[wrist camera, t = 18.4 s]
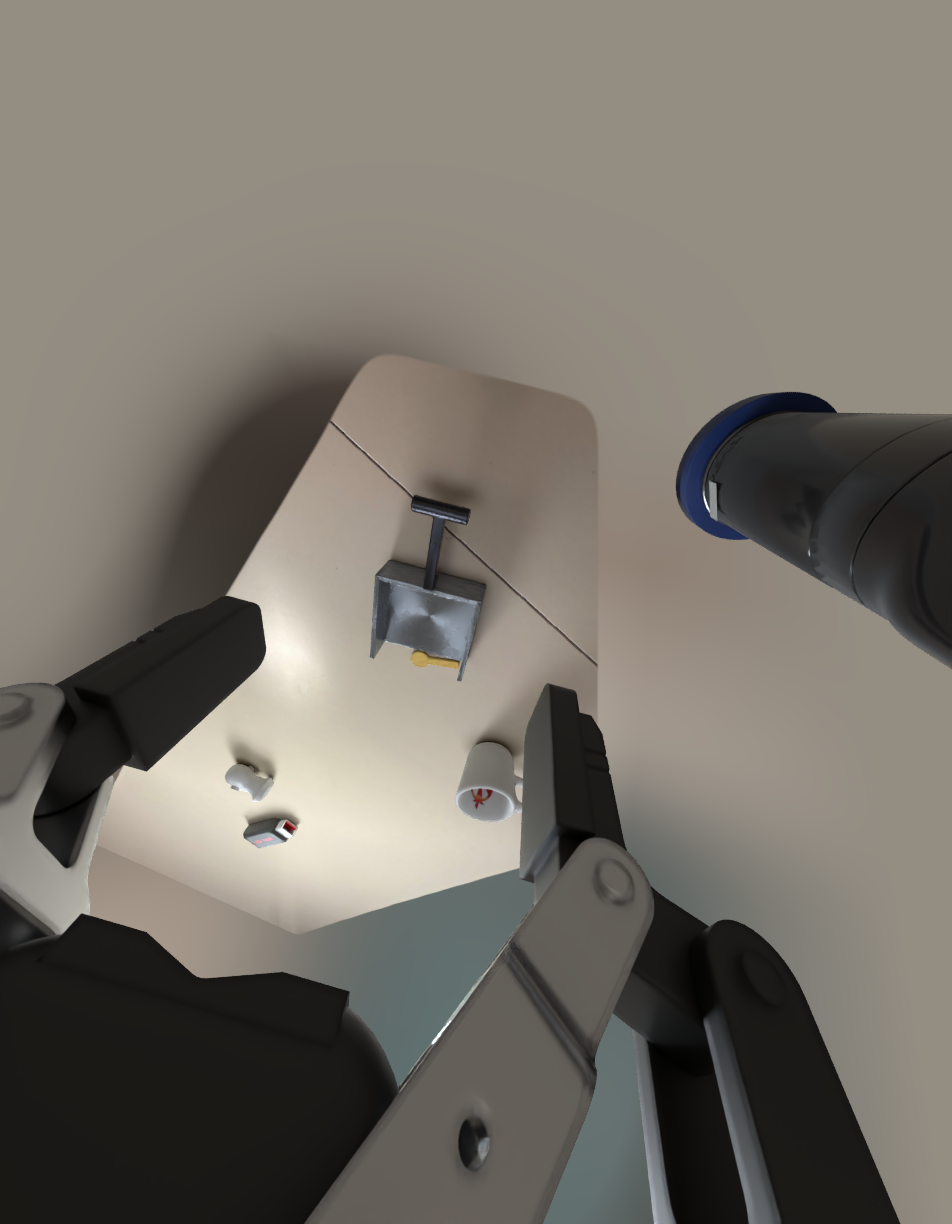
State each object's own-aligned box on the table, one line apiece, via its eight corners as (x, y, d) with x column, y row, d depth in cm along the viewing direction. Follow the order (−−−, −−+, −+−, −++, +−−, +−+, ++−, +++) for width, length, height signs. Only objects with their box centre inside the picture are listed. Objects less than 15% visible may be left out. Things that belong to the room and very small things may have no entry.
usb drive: (248, 825, 75) (239, 838, 72) (283, 815, 70) (275, 829, 68) (266, 837, 77) (258, 851, 74) (301, 828, 72) (294, 843, 70)
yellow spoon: (410, 651, 43) (411, 649, 44) (410, 665, 45) (411, 663, 45) (458, 658, 43) (459, 656, 43) (457, 673, 44) (458, 671, 45)
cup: (544, 756, 51) (546, 810, 44) (518, 783, 55) (516, 836, 48) (478, 727, 49) (470, 778, 43) (456, 757, 53) (446, 808, 47)
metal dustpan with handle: (507, 506, 33) (503, 520, 29) (466, 660, 43) (460, 685, 39) (396, 477, 33) (377, 488, 29) (382, 637, 44) (367, 661, 40)
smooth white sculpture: (236, 760, 64) (239, 756, 61) (274, 782, 66) (279, 780, 63) (217, 782, 62) (218, 780, 58) (256, 805, 63) (260, 804, 60)
